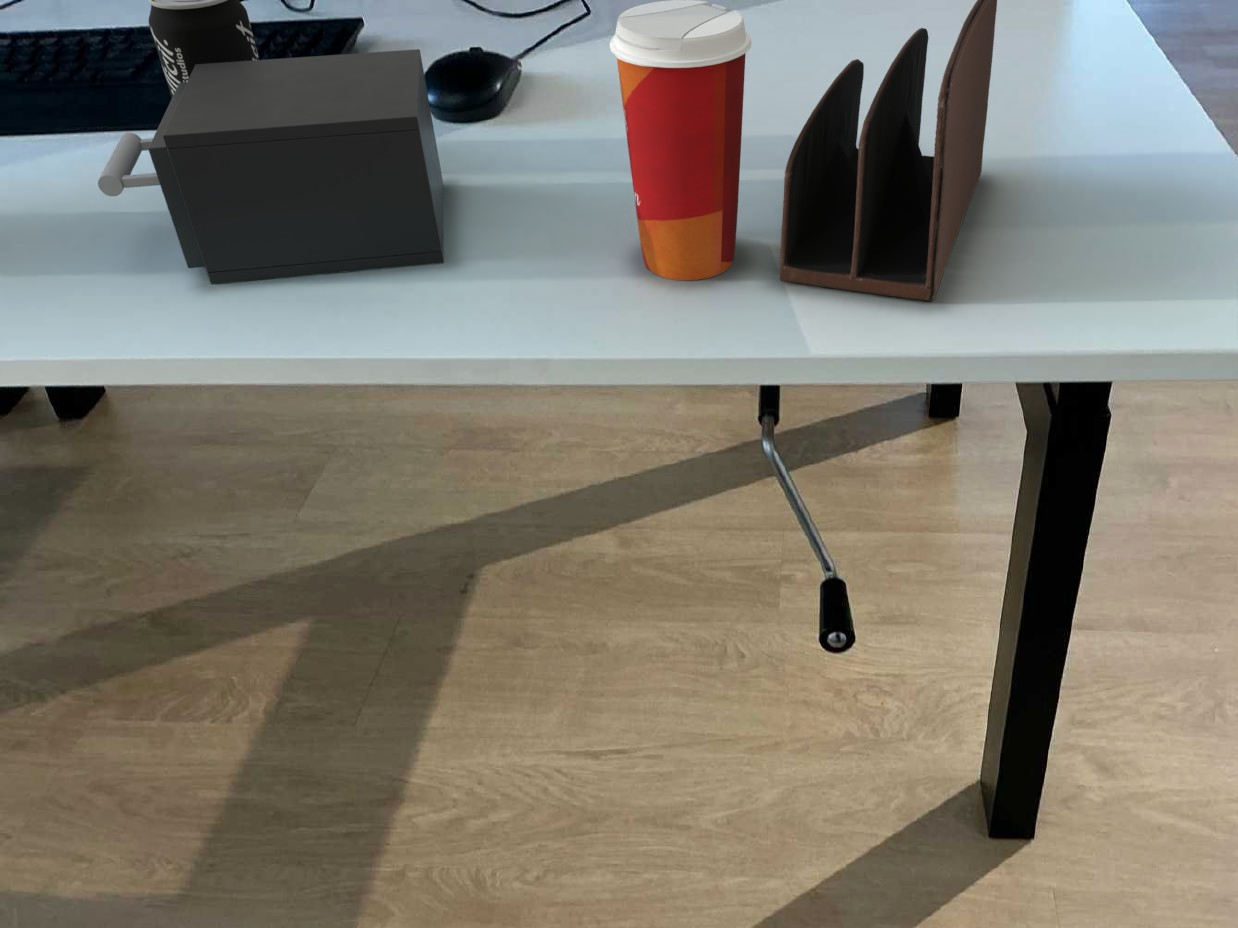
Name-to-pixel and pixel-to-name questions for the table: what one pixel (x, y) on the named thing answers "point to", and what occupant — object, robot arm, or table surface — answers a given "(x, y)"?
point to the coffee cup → (683, 130)
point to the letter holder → (888, 172)
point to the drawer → (153, 179)
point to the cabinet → (309, 165)
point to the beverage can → (199, 35)
